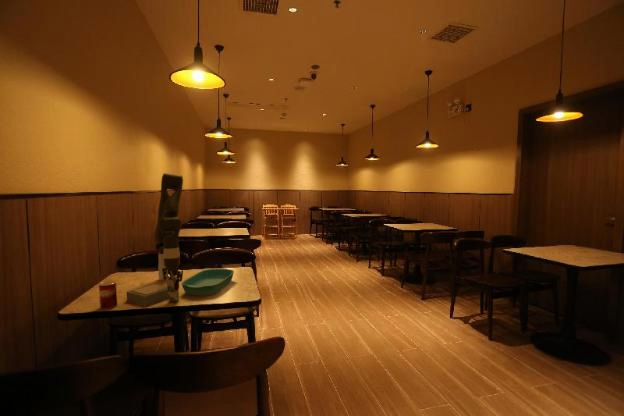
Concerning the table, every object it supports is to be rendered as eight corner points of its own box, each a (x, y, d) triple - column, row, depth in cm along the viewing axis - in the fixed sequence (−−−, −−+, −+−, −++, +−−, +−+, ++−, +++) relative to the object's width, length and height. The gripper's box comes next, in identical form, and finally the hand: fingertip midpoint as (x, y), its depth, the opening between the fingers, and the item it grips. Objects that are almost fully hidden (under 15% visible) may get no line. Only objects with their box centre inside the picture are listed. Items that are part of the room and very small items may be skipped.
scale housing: (126, 301, 166) (126, 291, 166) (155, 291, 180) (154, 283, 179) (145, 306, 158) (144, 296, 158) (173, 296, 172) (173, 287, 171)
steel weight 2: (166, 302, 163) (165, 291, 163) (174, 299, 167) (174, 288, 167) (172, 304, 161) (172, 292, 160) (181, 300, 165) (180, 289, 164)
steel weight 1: (165, 291, 163) (165, 279, 162) (174, 288, 167) (173, 277, 166) (172, 292, 160) (171, 280, 160) (180, 289, 164) (180, 278, 164)
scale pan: (132, 293, 166) (132, 290, 166) (153, 287, 177) (153, 284, 177) (146, 297, 160) (146, 294, 160) (167, 290, 171) (167, 287, 171)
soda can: (105, 304, 161) (103, 281, 161) (120, 303, 162) (118, 280, 161) (96, 310, 154) (95, 285, 153) (112, 309, 155) (111, 285, 154)
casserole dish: (214, 299, 167) (213, 286, 166) (174, 298, 170) (174, 285, 169) (239, 279, 203) (238, 268, 203) (206, 278, 206) (205, 267, 206)
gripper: (156, 256, 163) (157, 288, 164) (174, 259, 155) (176, 293, 157) (169, 253, 169) (170, 284, 170) (187, 256, 162) (188, 288, 163)
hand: (173, 288), depth 163 cm, fingers closed on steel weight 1, 5 cm apart
